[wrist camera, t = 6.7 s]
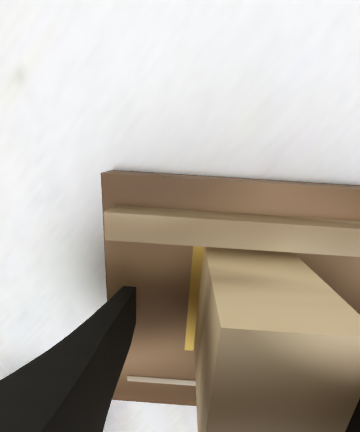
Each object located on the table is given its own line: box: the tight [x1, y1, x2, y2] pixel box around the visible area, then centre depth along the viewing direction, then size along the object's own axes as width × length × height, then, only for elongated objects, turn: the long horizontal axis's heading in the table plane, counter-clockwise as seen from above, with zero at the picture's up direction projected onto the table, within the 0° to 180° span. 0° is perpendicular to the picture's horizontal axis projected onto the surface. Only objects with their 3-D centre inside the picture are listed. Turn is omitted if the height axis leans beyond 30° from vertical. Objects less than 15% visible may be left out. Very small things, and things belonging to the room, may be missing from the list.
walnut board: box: [101, 170, 360, 406], centre depth 11 cm, size 14×22×3 cm, turn 87°
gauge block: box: [194, 247, 360, 432], centre depth 9 cm, size 10×4×5 cm, turn 177°
